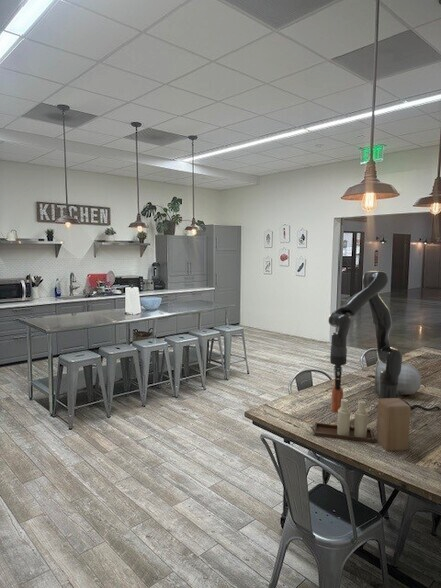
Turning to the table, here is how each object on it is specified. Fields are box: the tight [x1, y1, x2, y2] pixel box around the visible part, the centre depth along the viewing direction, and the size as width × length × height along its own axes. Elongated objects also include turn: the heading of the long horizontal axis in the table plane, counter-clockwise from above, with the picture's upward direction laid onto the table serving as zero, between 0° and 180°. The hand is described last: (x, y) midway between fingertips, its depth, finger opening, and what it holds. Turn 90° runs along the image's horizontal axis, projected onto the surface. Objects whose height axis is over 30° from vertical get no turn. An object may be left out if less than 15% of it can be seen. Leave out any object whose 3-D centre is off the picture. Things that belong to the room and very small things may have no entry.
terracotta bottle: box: [330, 378, 344, 414], centre depth 194 cm, size 5×5×16 cm
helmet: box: [365, 360, 422, 396], centre depth 234 cm, size 19×18×30 cm
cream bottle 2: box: [353, 400, 369, 438], centre depth 179 cm, size 5×5×16 cm
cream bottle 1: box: [336, 398, 351, 436], centre depth 181 cm, size 5×5×16 cm
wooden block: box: [375, 398, 412, 452], centre depth 171 cm, size 10×10×20 cm
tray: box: [313, 422, 375, 444], centre depth 182 cm, size 26×11×2 cm, turn 75°
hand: (337, 387), depth 194 cm, fingers closed on terracotta bottle, 4 cm apart
